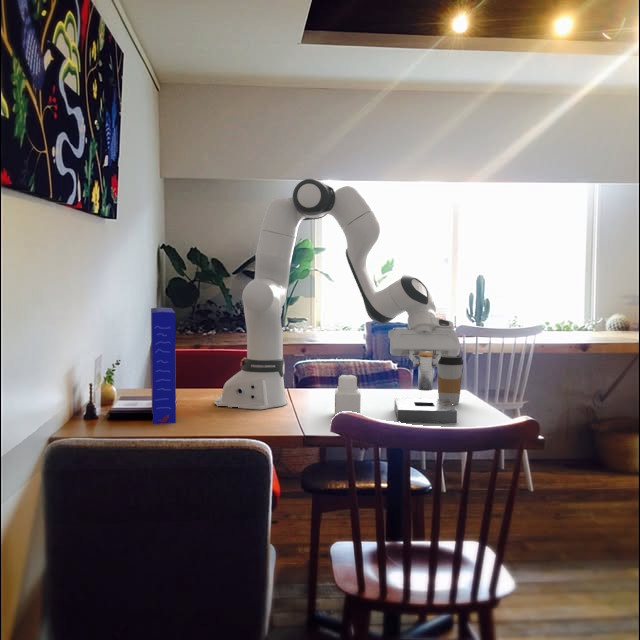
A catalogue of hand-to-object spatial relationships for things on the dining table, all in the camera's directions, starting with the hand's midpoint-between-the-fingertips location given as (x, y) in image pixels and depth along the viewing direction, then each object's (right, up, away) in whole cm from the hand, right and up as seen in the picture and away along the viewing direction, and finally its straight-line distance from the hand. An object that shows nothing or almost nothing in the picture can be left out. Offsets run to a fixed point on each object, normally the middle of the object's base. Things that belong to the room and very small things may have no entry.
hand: (425, 365), depth 173 cm
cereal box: (-75, -14, 0) cm, 76 cm away
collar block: (0, -15, +2) cm, 15 cm away
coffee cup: (+11, -14, +21) cm, 27 cm away
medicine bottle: (-22, -15, +1) cm, 27 cm away
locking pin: (0, -7, +1) cm, 7 cm away
